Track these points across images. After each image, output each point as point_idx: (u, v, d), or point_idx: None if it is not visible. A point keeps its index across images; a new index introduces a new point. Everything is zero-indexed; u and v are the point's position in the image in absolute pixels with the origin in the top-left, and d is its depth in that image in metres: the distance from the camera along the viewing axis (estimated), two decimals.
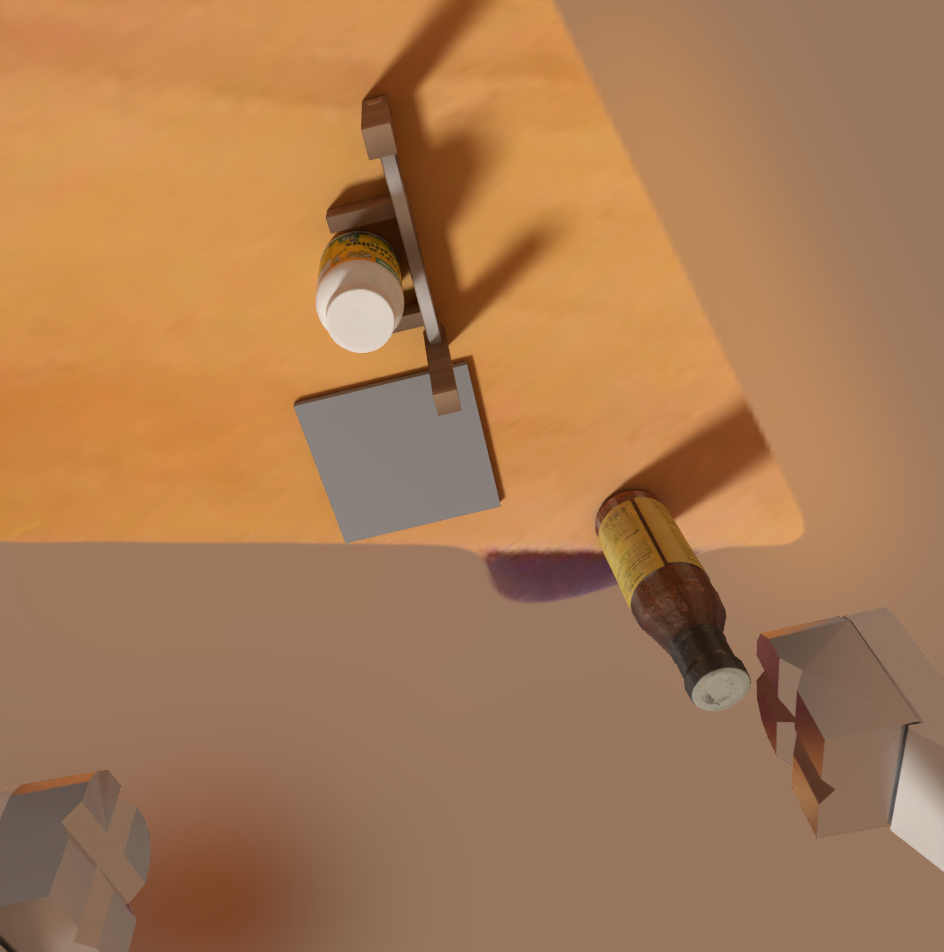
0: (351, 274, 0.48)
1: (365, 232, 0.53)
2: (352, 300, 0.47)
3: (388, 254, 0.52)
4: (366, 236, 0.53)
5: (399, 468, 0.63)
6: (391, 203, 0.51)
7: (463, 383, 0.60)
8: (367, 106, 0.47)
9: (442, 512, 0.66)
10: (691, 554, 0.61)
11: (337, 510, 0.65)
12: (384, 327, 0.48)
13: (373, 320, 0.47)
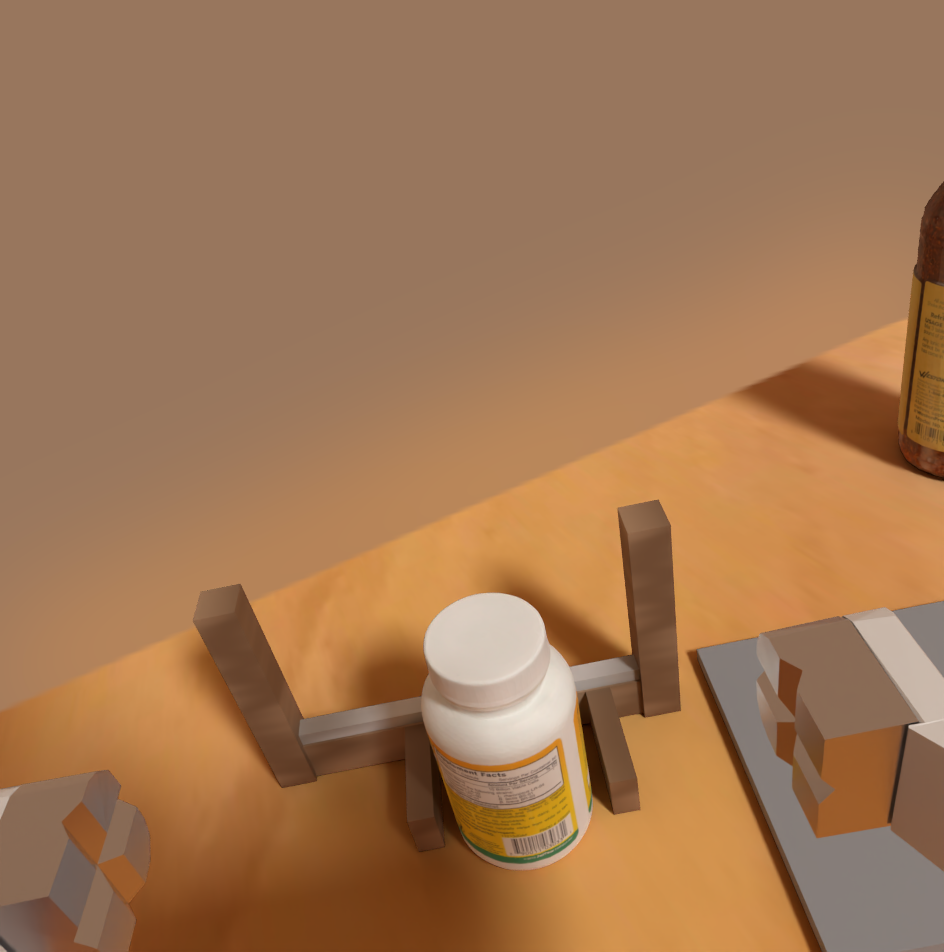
0: (430, 688, 0.28)
1: None
2: (442, 644, 0.26)
3: None
4: None
5: None
6: (406, 727, 0.33)
7: (734, 652, 0.35)
8: None
9: None
10: None
11: None
12: (499, 604, 0.27)
13: (484, 618, 0.27)
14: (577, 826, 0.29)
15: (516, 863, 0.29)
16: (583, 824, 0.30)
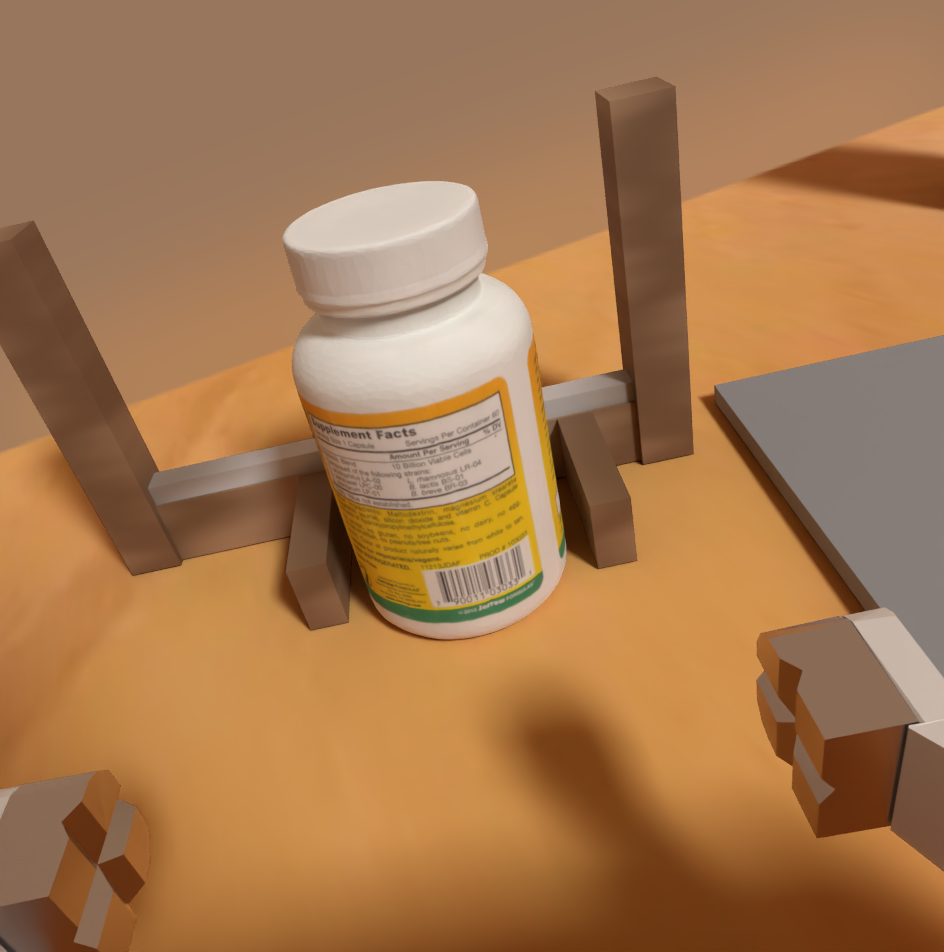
0: (304, 328, 0.18)
1: None
2: (312, 227, 0.16)
3: None
4: None
5: None
6: (302, 475, 0.23)
7: (766, 383, 0.25)
8: None
9: None
10: None
11: None
12: (409, 188, 0.17)
13: (384, 202, 0.17)
14: (541, 566, 0.19)
15: (448, 622, 0.19)
16: (551, 570, 0.20)
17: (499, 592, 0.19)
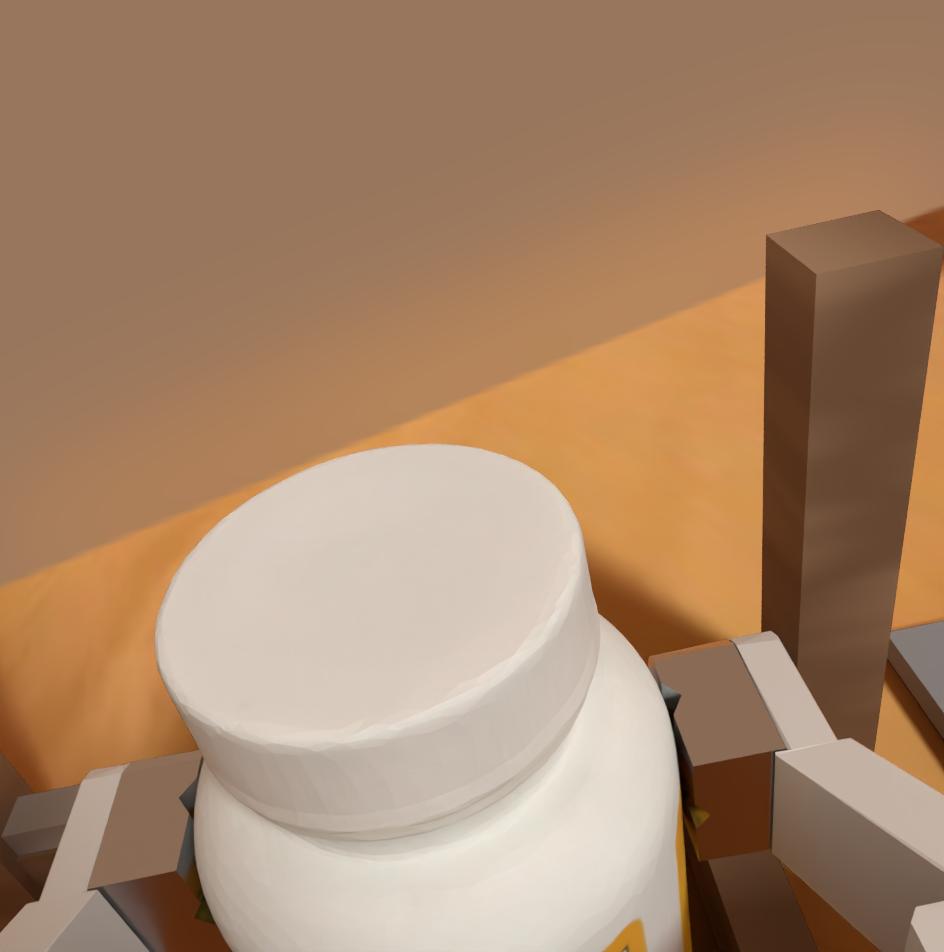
0: None
1: None
2: (221, 595, 0.07)
3: None
4: None
5: None
6: None
7: None
8: None
9: None
10: None
11: None
12: (431, 471, 0.09)
13: (378, 512, 0.08)
14: None
15: None
16: None
17: None
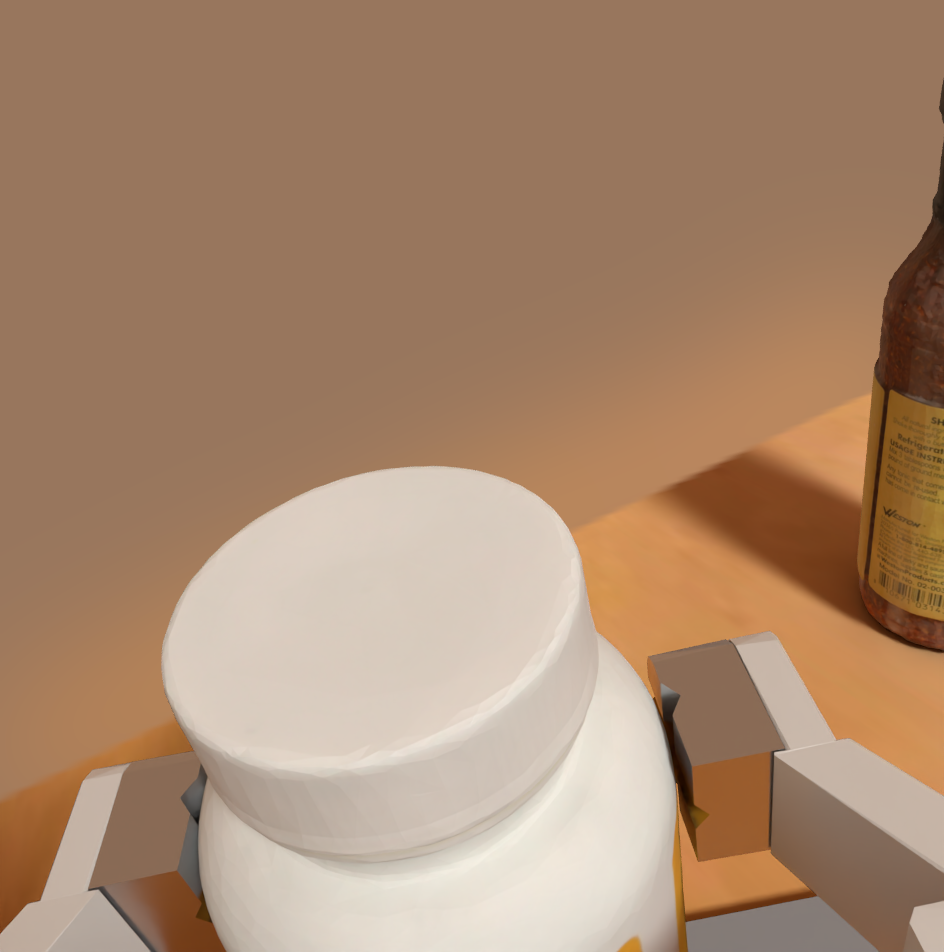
0: None
1: None
2: (226, 619, 0.08)
3: None
4: None
5: None
6: None
7: None
8: None
9: None
10: None
11: None
12: (432, 494, 0.09)
13: (380, 535, 0.08)
14: None
15: None
16: None
17: None
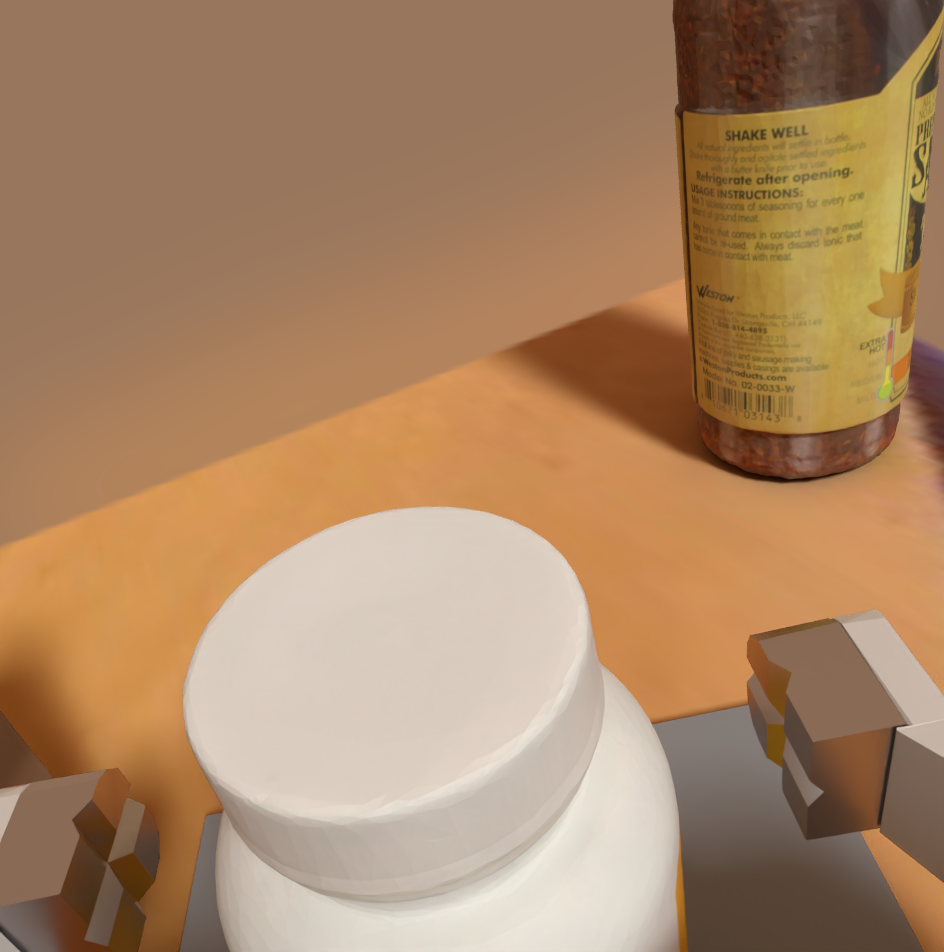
0: None
1: None
2: (244, 663, 0.08)
3: None
4: None
5: None
6: None
7: None
8: None
9: (856, 921, 0.14)
10: None
11: None
12: (443, 536, 0.09)
13: (393, 578, 0.09)
14: None
15: None
16: None
17: None
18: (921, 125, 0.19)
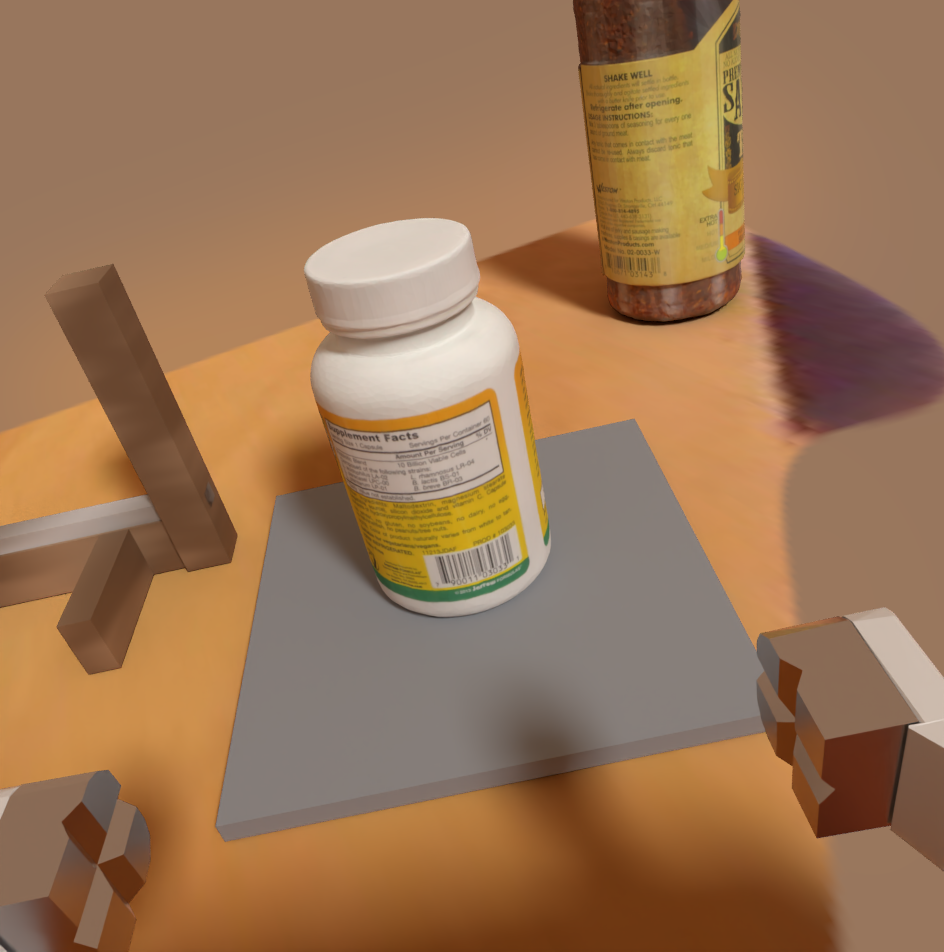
0: (321, 345, 0.20)
1: None
2: (329, 260, 0.19)
3: None
4: None
5: None
6: None
7: (313, 497, 0.29)
8: None
9: (648, 499, 0.25)
10: None
11: (637, 727, 0.18)
12: (412, 225, 0.20)
13: (390, 237, 0.20)
14: (527, 553, 0.22)
15: (446, 601, 0.22)
16: (536, 556, 0.22)
17: (490, 575, 0.21)
18: (726, 71, 0.30)
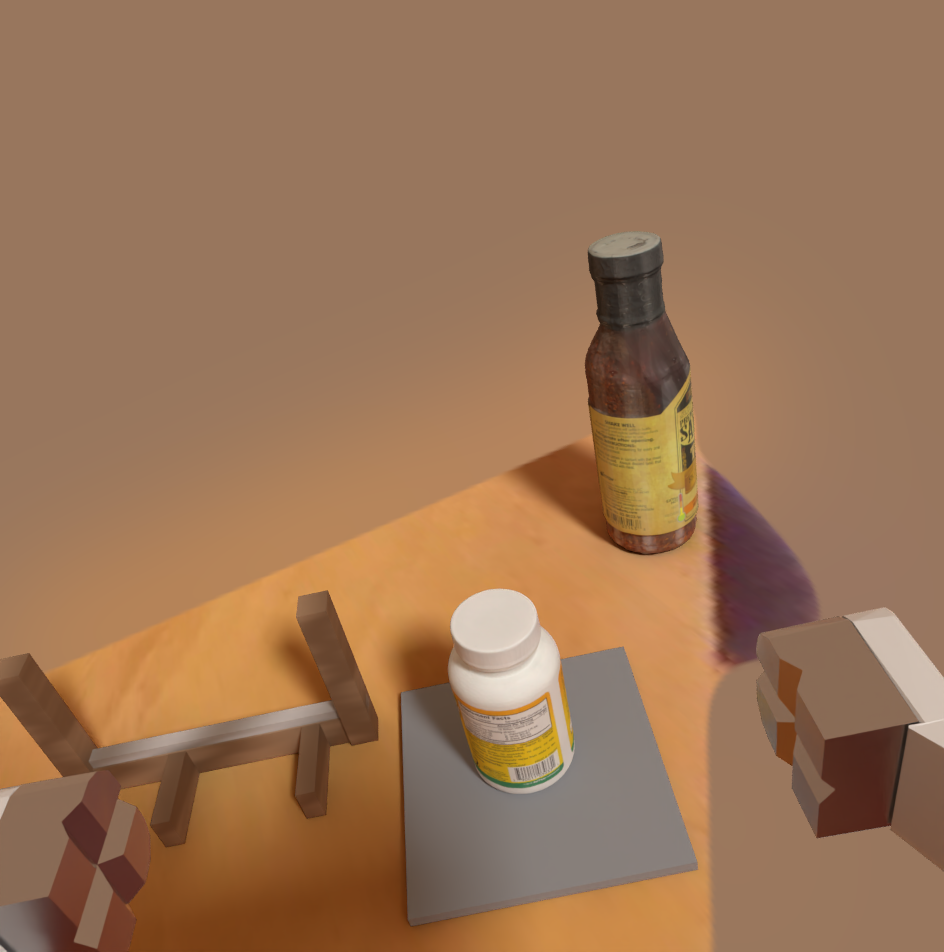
0: (455, 658, 0.38)
1: None
2: (463, 625, 0.37)
3: None
4: None
5: None
6: (169, 754, 0.45)
7: (425, 695, 0.46)
8: None
9: (631, 714, 0.43)
10: None
11: (622, 869, 0.36)
12: (504, 596, 0.38)
13: (493, 607, 0.37)
14: (562, 760, 0.40)
15: (518, 788, 0.39)
16: (567, 760, 0.40)
17: (543, 775, 0.39)
18: (682, 420, 0.48)
